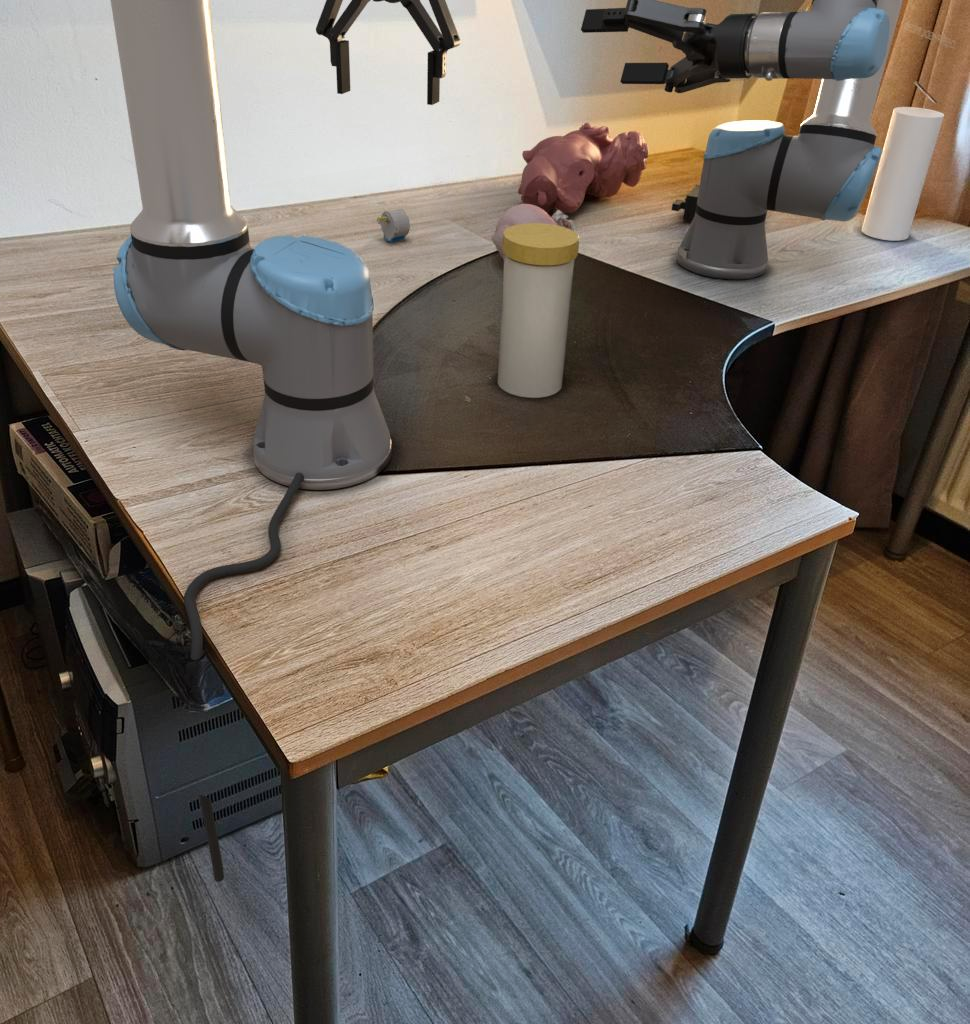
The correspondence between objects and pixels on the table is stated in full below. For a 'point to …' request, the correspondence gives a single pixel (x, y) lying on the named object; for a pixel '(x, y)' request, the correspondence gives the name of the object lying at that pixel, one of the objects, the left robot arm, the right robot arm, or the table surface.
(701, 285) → the table surface
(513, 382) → the jar
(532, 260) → the lid
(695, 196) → the toy
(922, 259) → the table surface
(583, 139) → the reddish pink figurine
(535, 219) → the toy
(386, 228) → the electric motor
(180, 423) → the table surface
